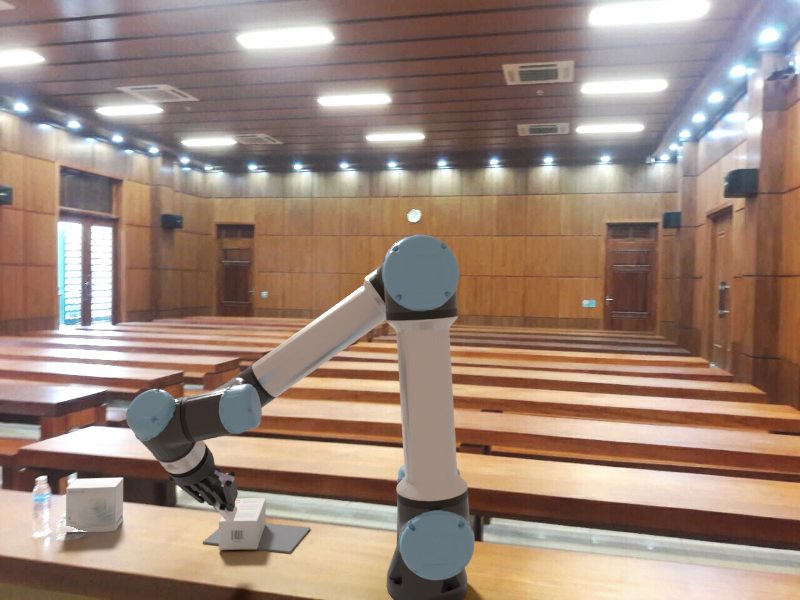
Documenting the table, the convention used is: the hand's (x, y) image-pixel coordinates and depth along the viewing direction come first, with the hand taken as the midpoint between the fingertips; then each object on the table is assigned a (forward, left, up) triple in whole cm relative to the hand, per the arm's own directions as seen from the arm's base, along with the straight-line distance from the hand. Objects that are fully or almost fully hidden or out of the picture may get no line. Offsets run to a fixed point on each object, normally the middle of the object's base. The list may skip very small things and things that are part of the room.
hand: (231, 514), depth 118 cm
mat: (0, -12, -10) cm, 16 cm away
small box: (+1, -4, -6) cm, 7 cm away
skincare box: (+38, -8, -10) cm, 40 cm away
